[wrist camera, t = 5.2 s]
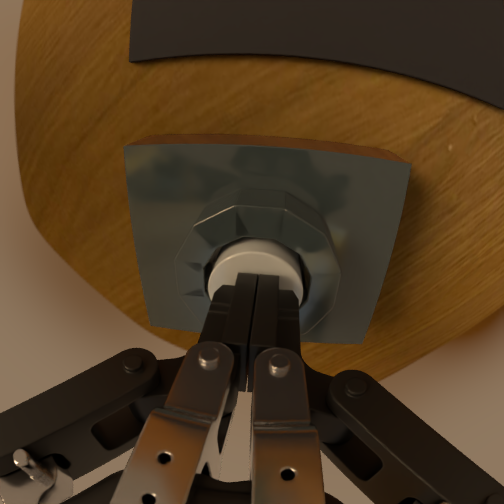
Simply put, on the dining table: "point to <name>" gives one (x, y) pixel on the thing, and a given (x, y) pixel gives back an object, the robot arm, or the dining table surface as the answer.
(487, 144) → the dining table surface
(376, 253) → the push button box
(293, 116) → the dining table surface
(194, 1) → the mat
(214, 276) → the white push button
